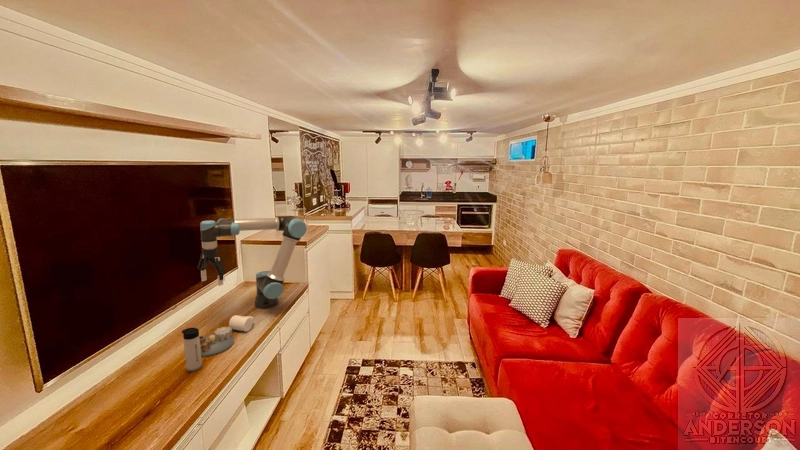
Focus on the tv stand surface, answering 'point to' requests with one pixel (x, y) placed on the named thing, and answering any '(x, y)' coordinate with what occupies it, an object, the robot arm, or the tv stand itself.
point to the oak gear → (204, 344)
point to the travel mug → (192, 349)
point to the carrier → (219, 341)
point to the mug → (241, 323)
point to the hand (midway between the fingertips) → (212, 282)
